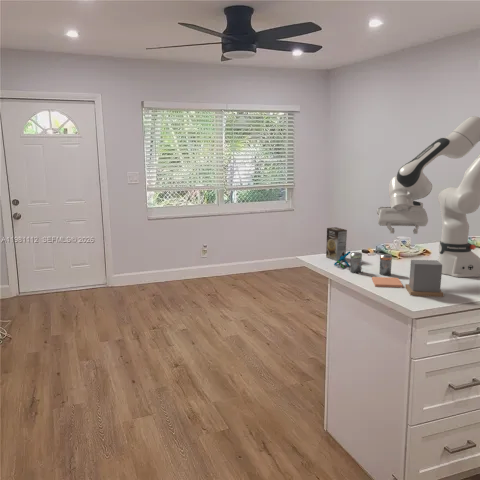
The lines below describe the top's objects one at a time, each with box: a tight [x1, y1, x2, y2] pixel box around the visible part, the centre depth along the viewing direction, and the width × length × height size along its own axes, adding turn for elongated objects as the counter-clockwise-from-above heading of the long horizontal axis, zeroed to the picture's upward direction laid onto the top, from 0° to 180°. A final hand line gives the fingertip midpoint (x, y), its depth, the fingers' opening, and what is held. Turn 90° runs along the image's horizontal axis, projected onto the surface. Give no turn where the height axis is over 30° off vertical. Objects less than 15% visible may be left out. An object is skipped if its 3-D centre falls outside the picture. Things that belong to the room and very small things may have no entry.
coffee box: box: [325, 226, 348, 262], centre depth 225 cm, size 9×6×16 cm
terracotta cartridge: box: [379, 253, 393, 277], centre depth 195 cm, size 5×5×9 cm
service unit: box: [404, 259, 444, 298], centre depth 169 cm, size 12×10×12 cm
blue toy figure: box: [333, 250, 352, 269], centre depth 211 cm, size 11×6×10 cm
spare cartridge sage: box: [349, 251, 363, 274], centre depth 200 cm, size 5×5×9 cm
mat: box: [371, 276, 404, 288], centre depth 182 cm, size 11×11×1 cm
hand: (404, 232), depth 181 cm, fingers open, 8 cm apart
